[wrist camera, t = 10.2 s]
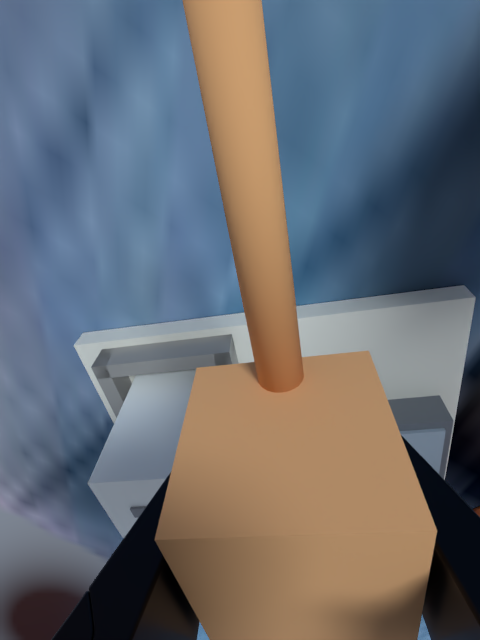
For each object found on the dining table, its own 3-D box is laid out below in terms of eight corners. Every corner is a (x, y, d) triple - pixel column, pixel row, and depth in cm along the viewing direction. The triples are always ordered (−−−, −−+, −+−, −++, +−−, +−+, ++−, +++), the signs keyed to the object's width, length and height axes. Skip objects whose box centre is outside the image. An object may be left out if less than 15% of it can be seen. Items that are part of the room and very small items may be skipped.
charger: (209, 360, 20) (184, 479, 14) (224, 413, 22) (208, 537, 16) (138, 368, 21) (86, 486, 15) (160, 418, 23) (121, 540, 17)
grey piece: (439, 395, 20) (455, 423, 19) (425, 502, 25) (436, 532, 24) (327, 405, 21) (332, 432, 20) (335, 506, 26) (340, 535, 25)
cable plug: (371, -147, 4) (687, -825, 1) (368, 463, 10) (416, 644, 7) (66, -59, 5) (-333, -337, 2) (228, 472, 11) (211, 643, 8)
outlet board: (463, 284, 18) (492, 314, 16) (434, 485, 26) (450, 523, 24) (83, 332, 21) (60, 363, 19) (164, 499, 29) (155, 534, 27)
